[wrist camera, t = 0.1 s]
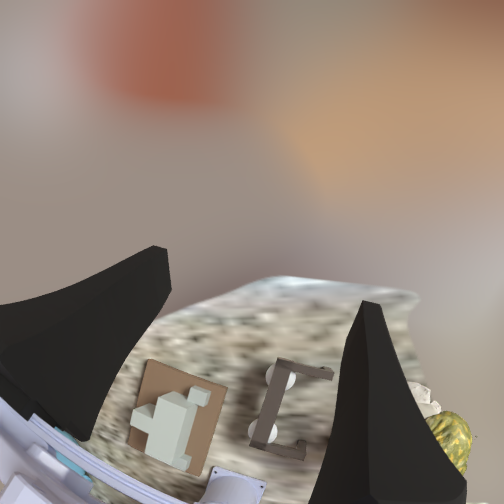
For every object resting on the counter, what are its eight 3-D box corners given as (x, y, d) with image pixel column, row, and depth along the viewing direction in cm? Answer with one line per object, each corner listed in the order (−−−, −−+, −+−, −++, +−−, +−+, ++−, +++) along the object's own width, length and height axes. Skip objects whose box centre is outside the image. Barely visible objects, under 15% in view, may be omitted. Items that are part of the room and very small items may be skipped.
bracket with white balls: (249, 432, 39) (242, 444, 34) (274, 353, 41) (270, 356, 36) (303, 447, 37) (303, 460, 32) (330, 368, 39) (334, 372, 34)
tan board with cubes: (131, 442, 40) (110, 453, 34) (151, 358, 43) (130, 361, 37) (201, 473, 38) (187, 490, 32) (227, 387, 41) (216, 395, 35)
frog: (334, 440, 36) (352, 504, 19) (391, 364, 38) (448, 383, 20) (395, 474, 33) (437, 537, 16) (449, 403, 35) (520, 432, 17)
